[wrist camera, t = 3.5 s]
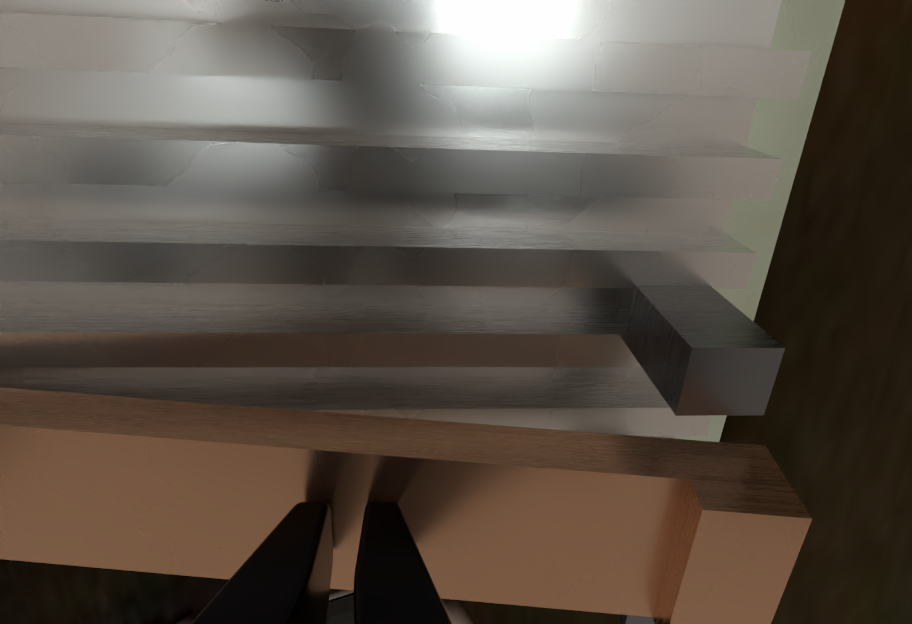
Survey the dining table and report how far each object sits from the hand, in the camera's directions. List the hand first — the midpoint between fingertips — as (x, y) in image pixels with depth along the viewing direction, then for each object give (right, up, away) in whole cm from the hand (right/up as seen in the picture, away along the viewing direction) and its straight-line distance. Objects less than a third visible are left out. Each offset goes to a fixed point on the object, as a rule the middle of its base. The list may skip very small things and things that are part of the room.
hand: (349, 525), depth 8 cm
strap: (-2, +1, +1) cm, 2 cm away
